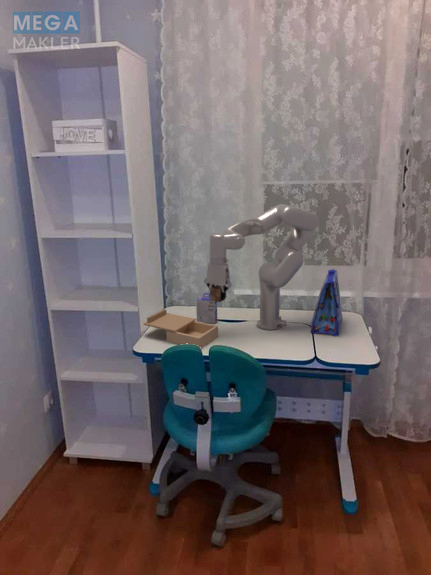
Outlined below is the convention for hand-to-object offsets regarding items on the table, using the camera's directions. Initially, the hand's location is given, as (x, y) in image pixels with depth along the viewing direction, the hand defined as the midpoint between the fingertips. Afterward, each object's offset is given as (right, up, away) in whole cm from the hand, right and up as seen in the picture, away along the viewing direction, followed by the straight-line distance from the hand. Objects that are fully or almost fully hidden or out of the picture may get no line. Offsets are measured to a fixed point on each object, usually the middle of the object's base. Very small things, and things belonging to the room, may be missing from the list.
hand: (217, 298), depth 216 cm
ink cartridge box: (-5, -12, +21) cm, 25 cm away
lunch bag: (+53, -14, +11) cm, 56 cm away
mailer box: (-12, -19, 0) cm, 22 cm away
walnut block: (0, -1, 0) cm, 1 cm away
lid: (-23, -12, +5) cm, 26 cm away
